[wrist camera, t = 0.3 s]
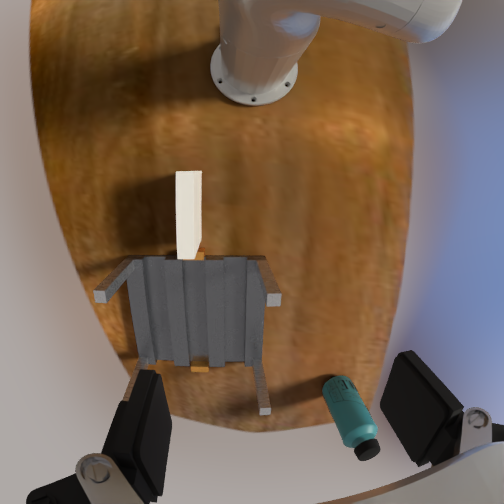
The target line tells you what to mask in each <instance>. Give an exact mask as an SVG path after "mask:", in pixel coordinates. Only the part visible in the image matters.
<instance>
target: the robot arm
mask: <svg viewBox="0 0 504 504" xmlns="http://www.w3.org/2000/svg"><path fill="white" fill-rule="evenodd" d="M218 3H219V17H220V44H219V45H218V47H217V48H216V49H215V51H214V53H213V56H212V58H211V64H210V67H211V75H212V79H213V81H214V84H215V85H216V87H217V88H218V90H219V91H220V92H221V93H222V94H223V95H225V96H226V97H228V98H229V99H230V100H232V101H235V102H237V103H240V104H244V105H249V106H261V105H267V104H271V103H273V102H275V101H278V100H279V99H281V98H282V97H284V96H285V95H286V94H287V93H288V92H289V91H290V90H291V88H292V87H293V85H294V83H295V81H296V78H297V73H298V65H297V61H298V59H299V58H300V57H301V55H302V54H303V52H304V51H305V50H306V48H307V47H308V45H309V44H310V43H311V41H312V40H313V38H314V37H315V35H316V33H317V31H318V29H319V25H320V16H323V17H327V18H334V19H338V20H341V21H345V22H349V23H352V24H355V25H359V26H362V27H365V28H368V29H371V30H374V31H377V32H380V33H383V34H386V35H388V36H391V37H394V38H397V39H400V40H403V41H407V42H413V43H425V42H429V41H432V40H434V39H436V38H437V37H439V36H440V35H441V34H443V33H444V31H446V30H447V28H448V27H449V26H450V24H451V23H452V21H453V20H454V18H455V16H456V14H457V12H458V10H459V8H460V5H461V3H462V0H218ZM219 81H221V82H222V83H221V84H219ZM285 85H288V87H286V86H285ZM252 99H254V100H255V102H252V101H251V100H252ZM380 408H381V410H382V412H383V413H384V415H385V417H386V418H387V420H388V422H389V423H390V425H391V427H392V428H393V430H394V432H395V433H396V435H397V437H398V438H399V440H400V441H401V443H402V445H403V446H404V448H405V450H406V452H407V454H408V455H409V457H410V459H411V460H412V461H413V462H416V464H417V465H418V467H420V466H422V465H424V464H427V463H429V461H430V462H431V463H432V466H431V468H429V469H427V470H425V471H422V472H420V473H417V474H415V475H412V476H410V477H407V478H405V479H402V480H399V481H397V482H394V483H391V484H389V485H385V486H383V487H379V488H376V489H373V490H370V491H367V492H363V493H360V494H356V495H352V496H349V497H345V498H341V499H336V500H332V501H328V502H323V503H318V504H504V425H500V424H495V423H492V420H491V417H490V415H489V413H488V412H486V411H485V410H484V409H481V408H478V407H473V408H469V409H467V410H466V411H465V412H463V411H462V409H463V408H464V406H463V405H462V404H461V403H460V402H459V401H458V399H457V398H456V397H455V396H454V395H453V394H452V393H451V391H450V390H449V389H448V388H447V387H446V386H445V385H444V384H443V383H442V381H441V380H440V379H439V378H438V377H437V376H436V375H435V374H434V373H433V372H432V371H431V369H430V368H429V367H428V366H427V365H426V364H425V363H424V362H423V361H422V360H421V359H420V358H419V357H418V356H417V355H416V353H415V352H414V351H412V350H410V351H406V352H401V353H399V354H398V356H397V357H396V358H395V359H394V363H393V366H392V369H391V373H390V375H389V378H388V381H387V384H386V387H385V390H384V393H383V396H382V399H381V401H380ZM171 430H172V420H171V416H170V412H169V408H168V404H167V400H166V395H165V391H164V387H163V382H162V377H161V375H160V374H156V371H155V370H145V369H140V371H139V373H138V375H137V378H136V381H135V384H134V386H133V389H132V392H131V395H130V397H129V400H128V401H123V400H122V401H121V402H120V403H119V405H118V408H117V410H116V413H115V416H114V418H113V421H112V424H111V427H110V429H109V432H108V435H107V438H106V441H105V443H104V446H103V449H102V452H101V454H100V453H92V454H88V455H86V456H84V457H82V458H81V459H80V460H79V461H78V463H77V465H76V470H75V472H76V473H75V474H73V475H71V476H68V477H66V478H64V479H61V480H58V481H56V482H54V483H51V484H48V485H46V486H43V487H40V488H37V489H35V490H33V491H31V492H30V494H29V495H28V497H27V499H26V504H149V503H150V502H157V497H158V496H162V494H163V488H164V480H165V472H166V465H167V457H168V451H169V444H170V437H171Z"/></svg>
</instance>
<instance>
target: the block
mask: <svg viewBox="0 0 504 504" xmlns="http://www.w3.org/2000/svg"><path fill="white" fill-rule="evenodd" d="M201 176H202V171H177V172H176V235H177V259H195V256H196V253H197V250H198V247H199V245H200V242H201Z"/></svg>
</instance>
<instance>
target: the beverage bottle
mask: <svg viewBox="0 0 504 504" xmlns="http://www.w3.org/2000/svg"><path fill="white" fill-rule="evenodd" d="M322 393H323V396H324V397H323V398H325V402H326V405H328V408H329V409H328V410H329V412H331V414H332V417H333V419H334V421H335V423H336V426H337V428H338V430H339V433H340V435H341V437H342V440H343V443H344V445H345V446H347V447H350V448H355V449H354V453H355V454H356V456H357V458H358V459H359V460H360V461H366V460H369V459H371V458H373V457H375V456H376V455H377V454H378V453H379V452H380V446H379V443H378V441H377V439H374V437H375V436H376V434H377V430H378V429H377V426H376V425H375V423H374V421H373V419H372V418H371V416H370V413H369V412H368V410H367V408H366V406H365V405H364V403H363V401H362V399H361V398H360V396H359V393H358V392H357V390H356V387H355V385H354V384H353V383H352V381H351V380H350V379H349V378H348V377H346V376H336V377H333V378H331V379H330V380H328V381H327V382H326V383H325V384H324V386H323V389H322Z"/></svg>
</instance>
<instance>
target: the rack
mask: <svg viewBox="0 0 504 504" xmlns="http://www.w3.org/2000/svg"><path fill="white" fill-rule="evenodd" d="M126 279H127V286H128V293H129V301H130V307H131V314H132V320H133V326H134V332H135V337H136V343H137V348H138V353H139V359H138V361H137V364H136V366H135V369H134V371H133V374H132V376H131V379H130V381H129V384H128V387H127V389H126V392H125V395H124V397H123V401H128V400H129V397H130V395H131V392H132V389H133V386H134V384H135V381H136V378H137V375H138V373H139V371H140V369H145V370H147V368H148V365H149V364H155V365H156V362H157V360H174V363H175V366H190V361H192V362H191V372H209V366H210V367H225V362H233V361H244V363H245V366H252V367H253V374H254V380H255V387H256V394H257V401H258V407H259V414H260V415H270V413H271V405H270V400H269V394H268V389H267V384H266V379H265V374H264V369H263V364H262V344H263V326H264V308H265V302H266V306H280V305H281V291H280V289H279V287H278V285H277V282H276V280H275V278H274V275H273V273H272V271H271V269H270V266H269V264H268V262H267V260H266V257H265V256H213V255H205V248H198V250H197V253H196V256H195V259H177V255H129V256H128V257H127V258H126V259H124V260H123V261H122V262H121V263H120V264H119V265H118V266H117V267H116V268H115V269H114V270H113V271H112V272H111V273H110V274H109V275H108V276H107V277H106V278H105V279H104V280H103V281H102V282H101V283H100V284H99V285H98V286H97V287H96V288H95V289H94V290H93V291H94V297H95V302H96V303H107V302H108V301H109V300H110V298H111V297H112V296H113V295H114V294H115V292H116V291H117V290H118V289H119V287H120V286H121V285H122V284H123V283H124V281H125V280H126Z"/></svg>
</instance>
